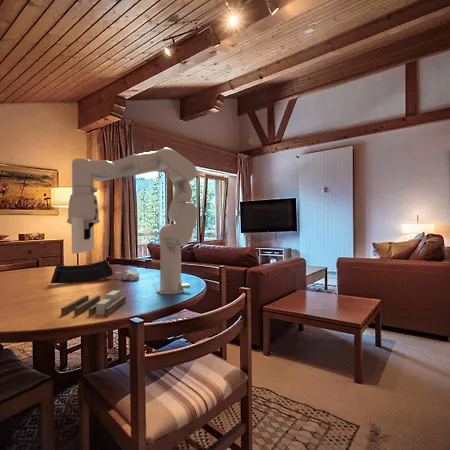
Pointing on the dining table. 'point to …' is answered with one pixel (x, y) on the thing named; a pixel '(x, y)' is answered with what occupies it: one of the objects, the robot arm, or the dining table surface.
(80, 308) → the rack
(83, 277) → the magazine
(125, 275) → the bunny figurine
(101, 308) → the small offcut
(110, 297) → the large offcut
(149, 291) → the dining table surface
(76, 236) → the tall sheet
